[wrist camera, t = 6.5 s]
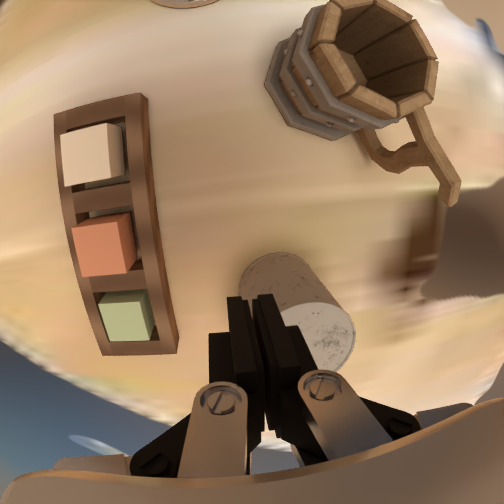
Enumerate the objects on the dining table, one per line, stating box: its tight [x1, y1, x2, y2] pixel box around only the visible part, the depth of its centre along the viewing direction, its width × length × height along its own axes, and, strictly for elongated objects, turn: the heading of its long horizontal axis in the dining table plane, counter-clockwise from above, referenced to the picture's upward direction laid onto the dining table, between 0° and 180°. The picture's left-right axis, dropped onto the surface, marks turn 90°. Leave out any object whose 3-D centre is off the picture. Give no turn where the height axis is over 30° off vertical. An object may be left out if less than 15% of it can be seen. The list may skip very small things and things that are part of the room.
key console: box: [54, 93, 179, 356], centre depth 29 cm, size 29×10×4 cm, turn 3°
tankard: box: [264, 0, 461, 207], centre depth 23 cm, size 20×13×15 cm, turn 30°
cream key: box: [60, 123, 125, 187], centre depth 24 cm, size 5×5×4 cm
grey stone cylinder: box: [239, 253, 356, 372], centre depth 30 cm, size 10×10×12 cm
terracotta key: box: [71, 212, 138, 277], centre depth 27 cm, size 5×5×4 cm
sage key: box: [98, 289, 155, 341], centre depth 32 cm, size 5×5×4 cm
